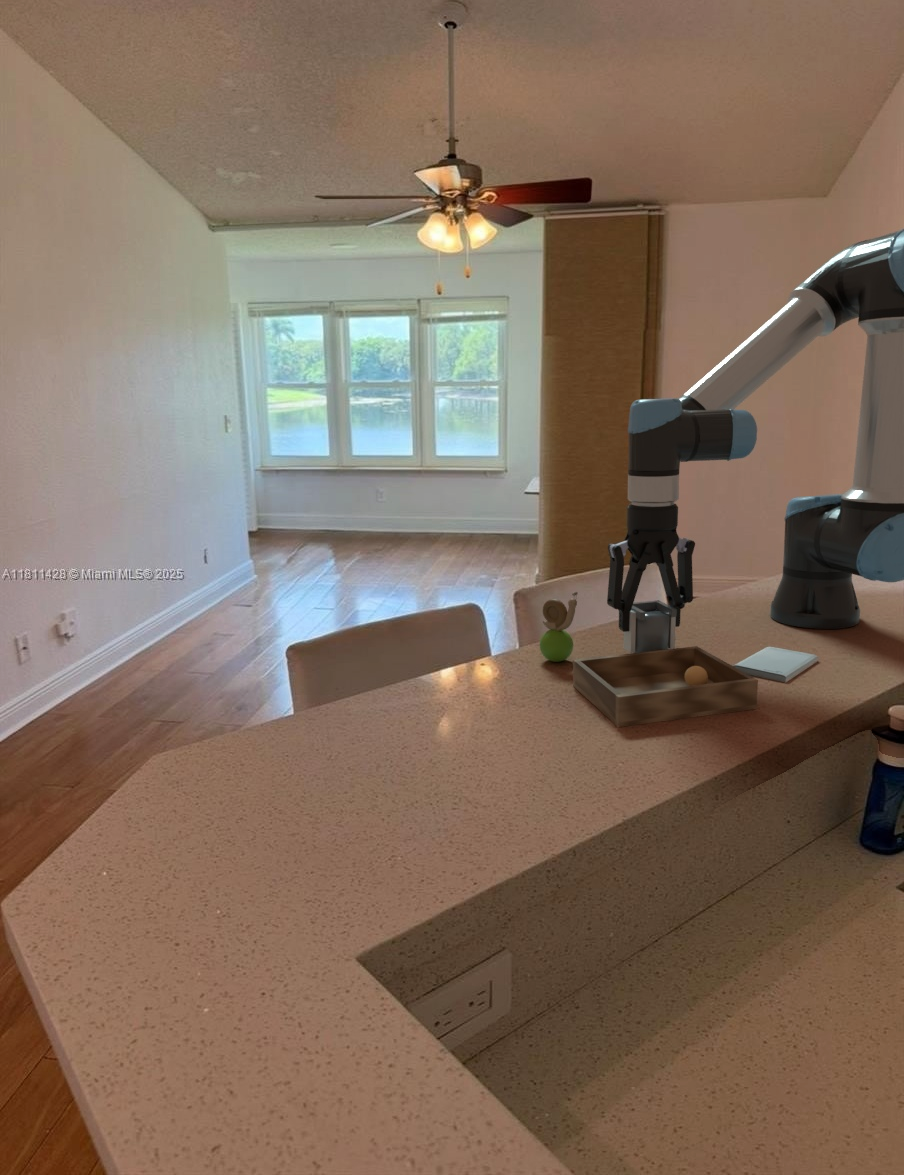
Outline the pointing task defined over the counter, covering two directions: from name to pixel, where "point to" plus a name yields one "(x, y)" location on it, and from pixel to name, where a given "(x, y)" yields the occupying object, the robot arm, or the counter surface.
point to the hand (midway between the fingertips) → (648, 648)
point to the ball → (696, 676)
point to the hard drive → (776, 663)
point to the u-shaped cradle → (652, 625)
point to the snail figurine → (557, 629)
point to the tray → (662, 686)
